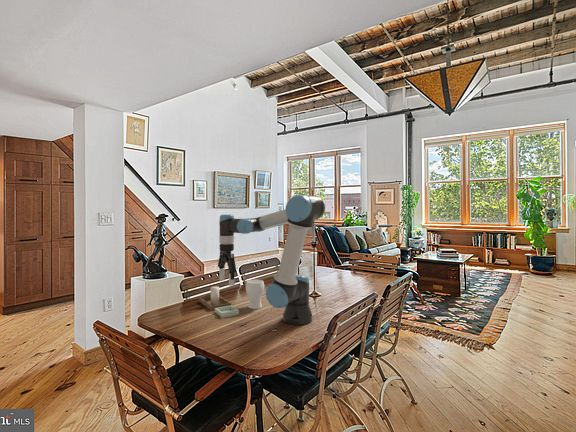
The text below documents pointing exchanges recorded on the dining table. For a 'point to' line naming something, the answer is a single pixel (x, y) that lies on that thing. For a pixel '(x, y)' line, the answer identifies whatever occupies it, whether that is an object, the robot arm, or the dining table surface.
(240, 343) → the dining table surface
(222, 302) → the tray
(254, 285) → the cup
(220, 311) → the dish
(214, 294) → the white rounded cylinder
